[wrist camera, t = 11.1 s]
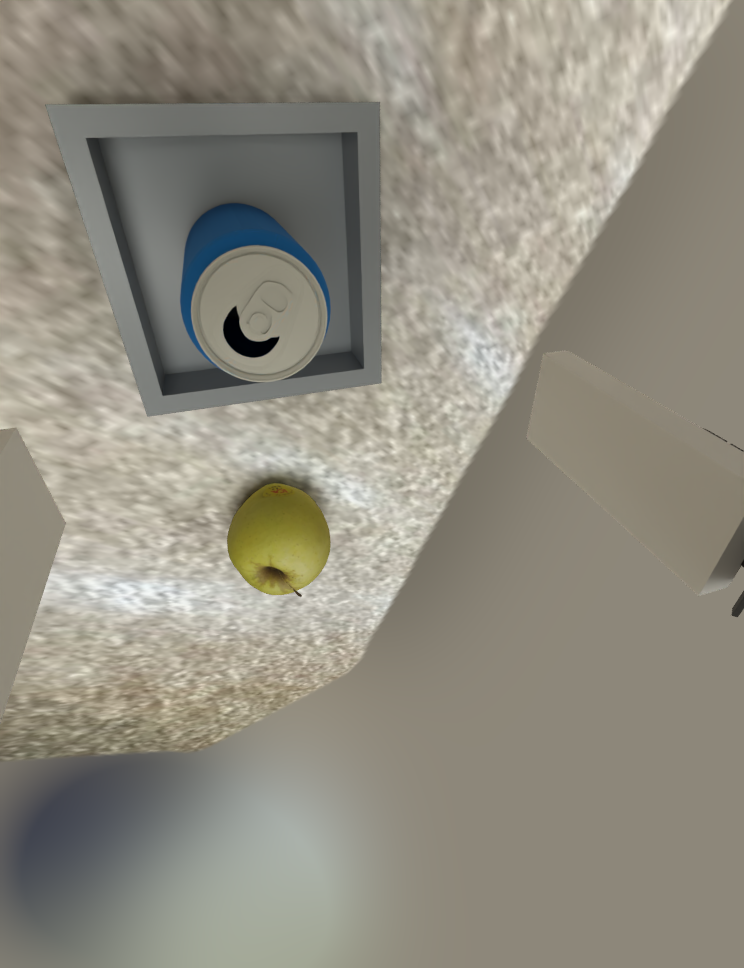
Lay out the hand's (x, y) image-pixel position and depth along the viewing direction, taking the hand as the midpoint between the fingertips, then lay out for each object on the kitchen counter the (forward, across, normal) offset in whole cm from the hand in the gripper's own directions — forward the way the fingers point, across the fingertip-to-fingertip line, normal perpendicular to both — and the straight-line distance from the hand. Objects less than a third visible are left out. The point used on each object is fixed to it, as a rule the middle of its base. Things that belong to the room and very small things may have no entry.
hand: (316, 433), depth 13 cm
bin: (+23, 0, 0) cm, 23 cm away
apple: (+23, -1, -20) cm, 30 cm away
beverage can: (+22, 0, 0) cm, 22 cm away
